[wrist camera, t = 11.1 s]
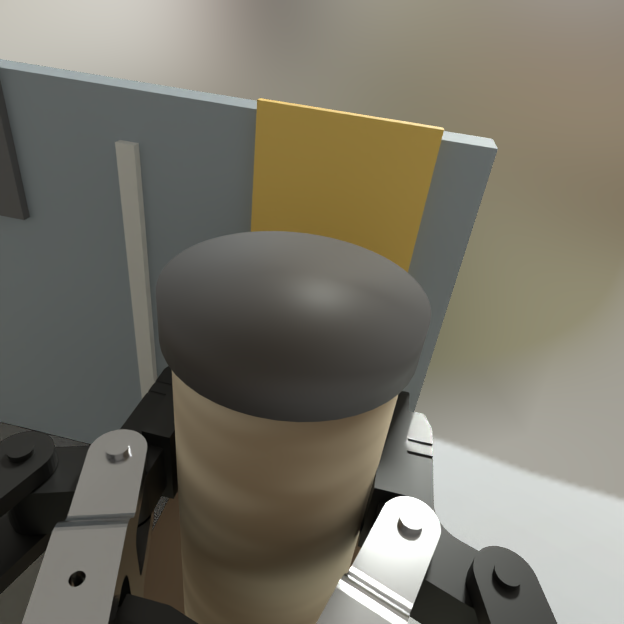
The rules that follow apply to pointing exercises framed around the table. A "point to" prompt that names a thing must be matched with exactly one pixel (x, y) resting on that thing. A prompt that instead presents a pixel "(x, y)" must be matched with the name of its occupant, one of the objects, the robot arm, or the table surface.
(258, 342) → the post
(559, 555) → the table surface
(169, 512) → the walnut pad
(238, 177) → the panel
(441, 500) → the table surface
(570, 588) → the table surface
